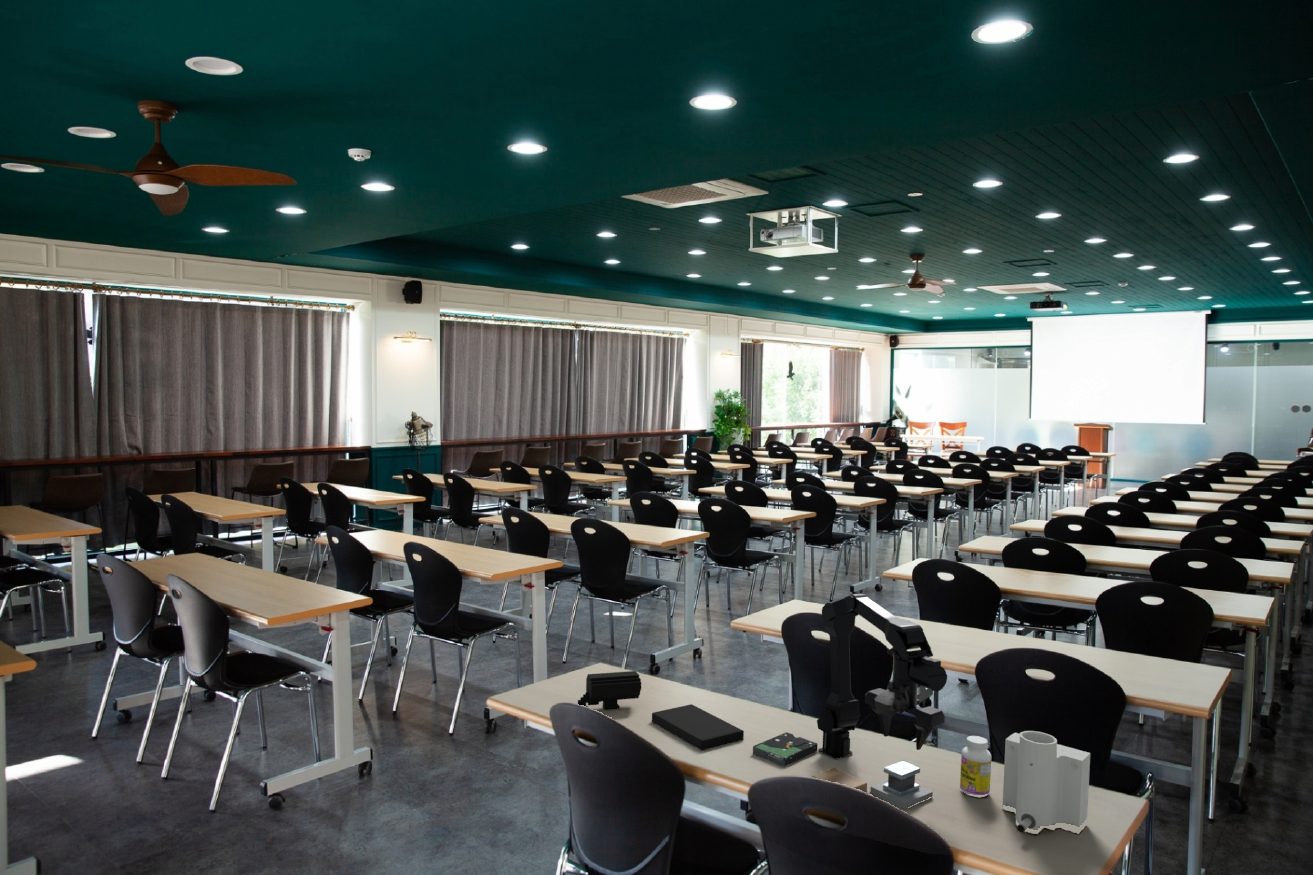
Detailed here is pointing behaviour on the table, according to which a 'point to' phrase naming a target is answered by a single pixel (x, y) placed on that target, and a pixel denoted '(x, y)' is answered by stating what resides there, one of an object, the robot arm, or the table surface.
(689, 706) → the external hard drive
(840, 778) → the stand
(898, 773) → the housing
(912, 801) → the stand
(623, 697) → the security camera
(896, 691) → the robot arm
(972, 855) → the table surface
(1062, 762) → the grey cylinder bracket
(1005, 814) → the table surface
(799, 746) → the disk drive
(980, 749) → the supplement bottle
